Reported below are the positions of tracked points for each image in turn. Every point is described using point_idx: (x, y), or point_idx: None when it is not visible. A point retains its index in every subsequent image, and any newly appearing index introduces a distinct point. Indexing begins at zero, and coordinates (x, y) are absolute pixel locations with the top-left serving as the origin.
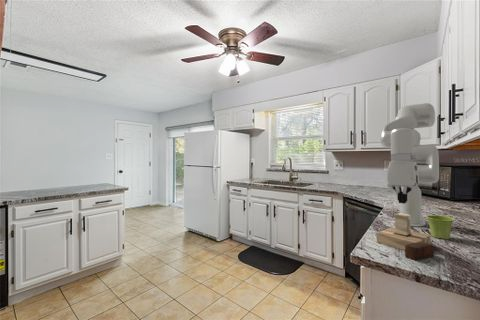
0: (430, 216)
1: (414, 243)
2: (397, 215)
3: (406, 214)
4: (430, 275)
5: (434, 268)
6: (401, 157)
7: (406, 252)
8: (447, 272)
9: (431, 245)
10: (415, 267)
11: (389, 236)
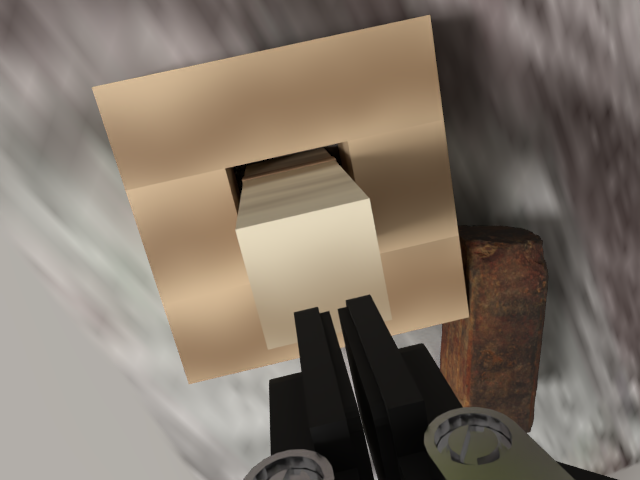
0: None
1: (482, 365)
2: (294, 338)
3: (327, 214)
4: (595, 465)
5: (578, 386)
6: None
7: None
8: (627, 374)
9: (547, 279)
10: None
11: (288, 358)
